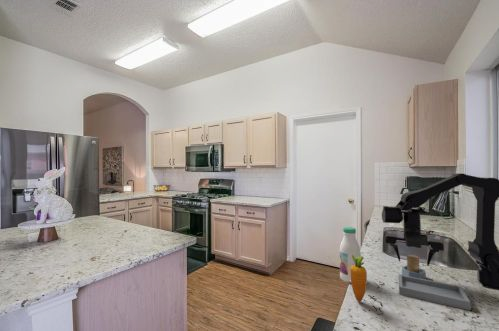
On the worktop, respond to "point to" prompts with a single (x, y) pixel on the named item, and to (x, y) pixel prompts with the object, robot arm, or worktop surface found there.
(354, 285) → the carrot
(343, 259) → the milk bottle
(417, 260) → the wooden pin
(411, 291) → the tray
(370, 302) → the worktop surface
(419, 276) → the blue-grey socket block
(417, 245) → the robot arm
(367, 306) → the worktop surface
